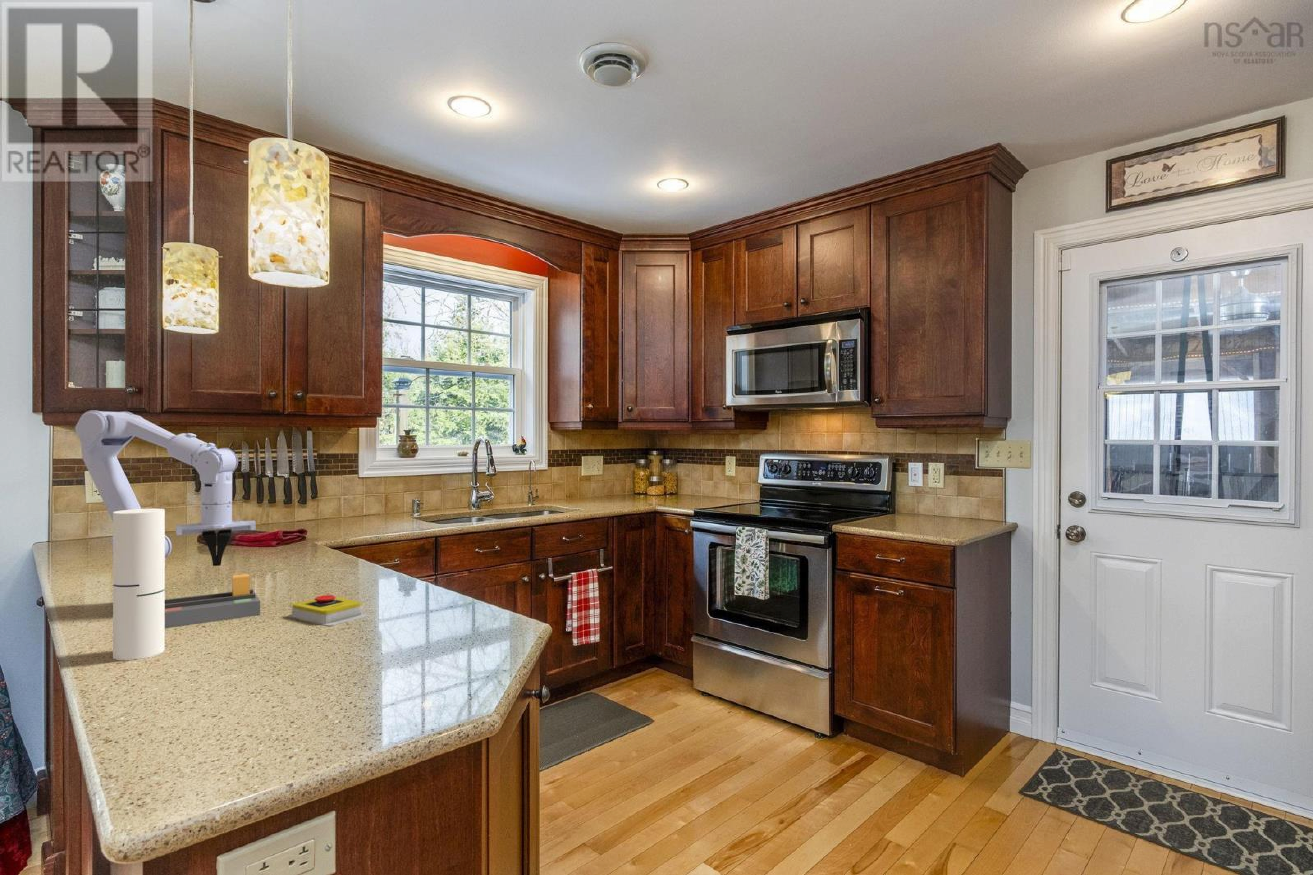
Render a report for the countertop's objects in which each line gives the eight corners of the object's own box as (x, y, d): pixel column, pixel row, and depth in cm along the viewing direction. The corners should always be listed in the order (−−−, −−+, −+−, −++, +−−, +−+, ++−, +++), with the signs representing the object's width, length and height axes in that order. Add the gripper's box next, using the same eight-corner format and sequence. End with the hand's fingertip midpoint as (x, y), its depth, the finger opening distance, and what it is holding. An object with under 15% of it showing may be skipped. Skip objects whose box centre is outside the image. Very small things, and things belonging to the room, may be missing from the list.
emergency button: (326, 589, 149) (370, 597, 142) (326, 608, 149) (370, 618, 142) (285, 597, 141) (330, 607, 134) (285, 618, 141) (330, 629, 134)
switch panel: (154, 615, 141) (154, 597, 141) (253, 602, 151) (253, 586, 151) (153, 629, 131) (153, 610, 131) (260, 614, 142) (260, 597, 142)
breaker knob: (232, 595, 145) (232, 575, 145) (248, 593, 147) (248, 573, 147) (233, 598, 143) (233, 577, 143) (249, 596, 144) (249, 576, 144)
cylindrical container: (121, 649, 119) (121, 509, 119) (169, 645, 122) (169, 508, 121) (106, 662, 112) (106, 514, 112) (158, 657, 115) (158, 512, 115)
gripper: (176, 507, 139) (176, 572, 140) (257, 503, 148) (256, 564, 148) (175, 504, 145) (175, 566, 145) (253, 500, 154) (253, 559, 154)
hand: (216, 565), depth 147 cm, fingers closed
